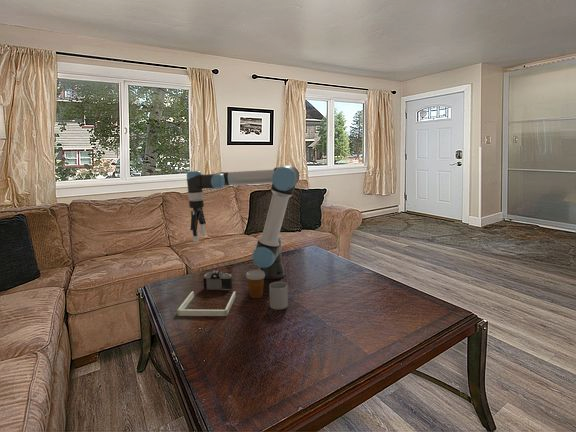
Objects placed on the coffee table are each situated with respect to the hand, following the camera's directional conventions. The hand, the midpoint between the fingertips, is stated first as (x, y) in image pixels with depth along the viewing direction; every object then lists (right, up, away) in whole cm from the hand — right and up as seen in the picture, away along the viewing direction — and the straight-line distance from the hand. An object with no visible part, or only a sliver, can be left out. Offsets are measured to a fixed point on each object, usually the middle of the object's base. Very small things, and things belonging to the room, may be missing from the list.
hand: (199, 238), depth 191 cm
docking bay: (+11, -29, -27) cm, 41 cm away
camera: (+12, -26, -6) cm, 29 cm away
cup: (+44, -29, -28) cm, 60 cm away
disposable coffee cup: (+32, -27, -17) cm, 46 cm away
